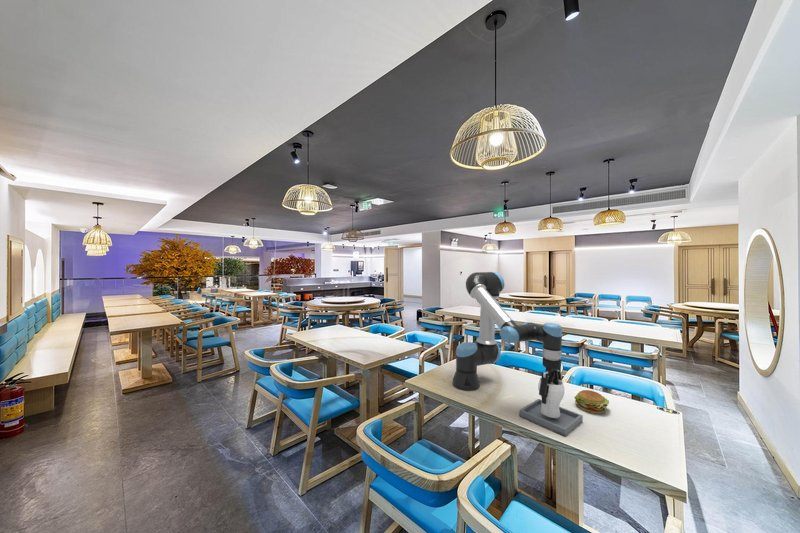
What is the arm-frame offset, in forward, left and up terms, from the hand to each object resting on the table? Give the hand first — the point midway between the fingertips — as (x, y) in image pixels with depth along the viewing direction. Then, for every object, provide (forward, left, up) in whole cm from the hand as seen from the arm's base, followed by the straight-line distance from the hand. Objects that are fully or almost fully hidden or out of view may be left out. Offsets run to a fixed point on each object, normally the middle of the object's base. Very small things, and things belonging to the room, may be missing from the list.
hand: (550, 406), depth 136 cm
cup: (0, 0, -4) cm, 4 cm away
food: (+8, +26, -6) cm, 28 cm away
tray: (0, 0, -6) cm, 6 cm away
